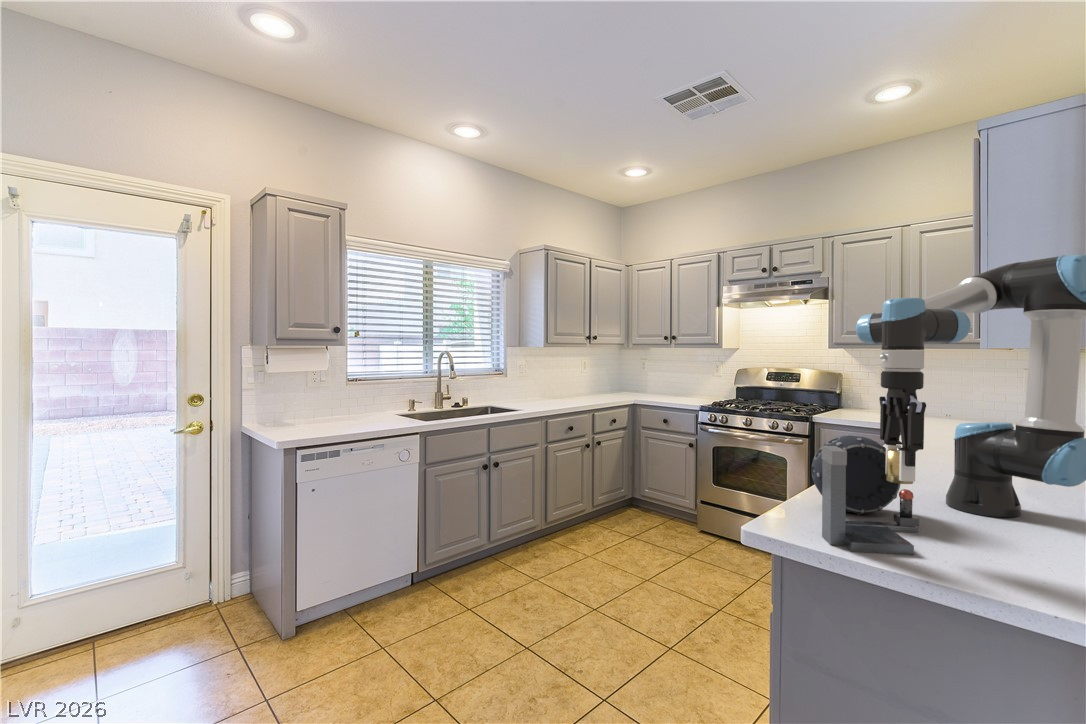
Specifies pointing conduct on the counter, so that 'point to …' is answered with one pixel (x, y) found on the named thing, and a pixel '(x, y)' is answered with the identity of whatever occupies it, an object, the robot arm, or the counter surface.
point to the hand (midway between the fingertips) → (899, 477)
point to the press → (854, 532)
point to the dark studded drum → (861, 474)
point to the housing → (894, 467)
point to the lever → (906, 510)
